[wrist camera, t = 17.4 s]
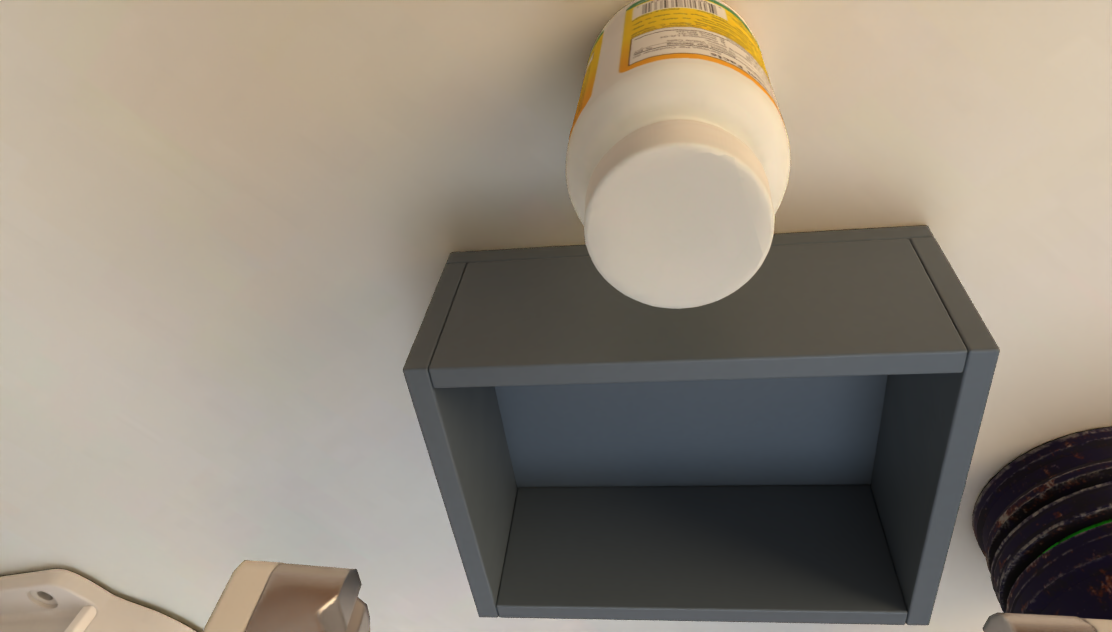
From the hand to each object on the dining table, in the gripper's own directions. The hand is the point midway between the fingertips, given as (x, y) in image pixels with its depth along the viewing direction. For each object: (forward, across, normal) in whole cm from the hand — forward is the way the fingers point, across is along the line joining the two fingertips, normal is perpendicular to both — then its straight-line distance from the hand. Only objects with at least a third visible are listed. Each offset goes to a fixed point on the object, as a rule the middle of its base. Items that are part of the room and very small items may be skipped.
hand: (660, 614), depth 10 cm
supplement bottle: (+18, -1, -1) cm, 18 cm away
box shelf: (+18, -2, +11) cm, 21 cm away
